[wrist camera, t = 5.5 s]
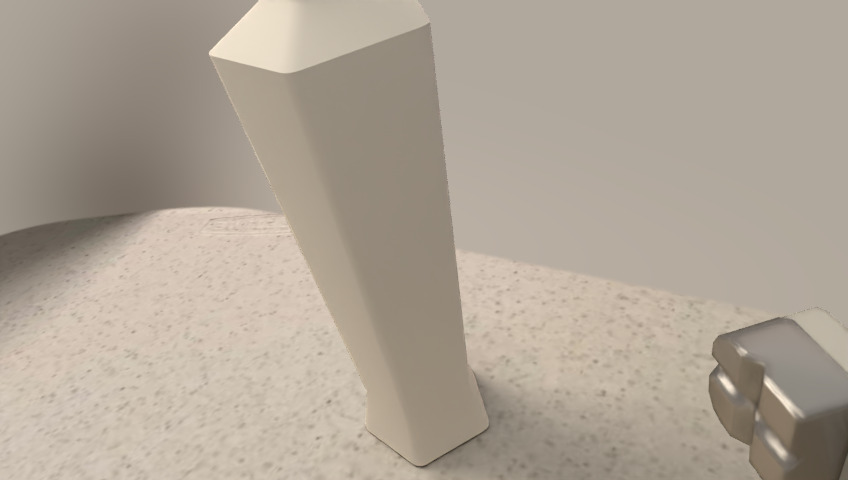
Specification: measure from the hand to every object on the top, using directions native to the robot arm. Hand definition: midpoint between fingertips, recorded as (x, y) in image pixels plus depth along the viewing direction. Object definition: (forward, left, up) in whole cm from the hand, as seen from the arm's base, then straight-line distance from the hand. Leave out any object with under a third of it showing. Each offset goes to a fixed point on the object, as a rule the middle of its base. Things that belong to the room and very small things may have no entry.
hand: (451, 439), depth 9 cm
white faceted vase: (-2, -7, -9) cm, 11 cm away
